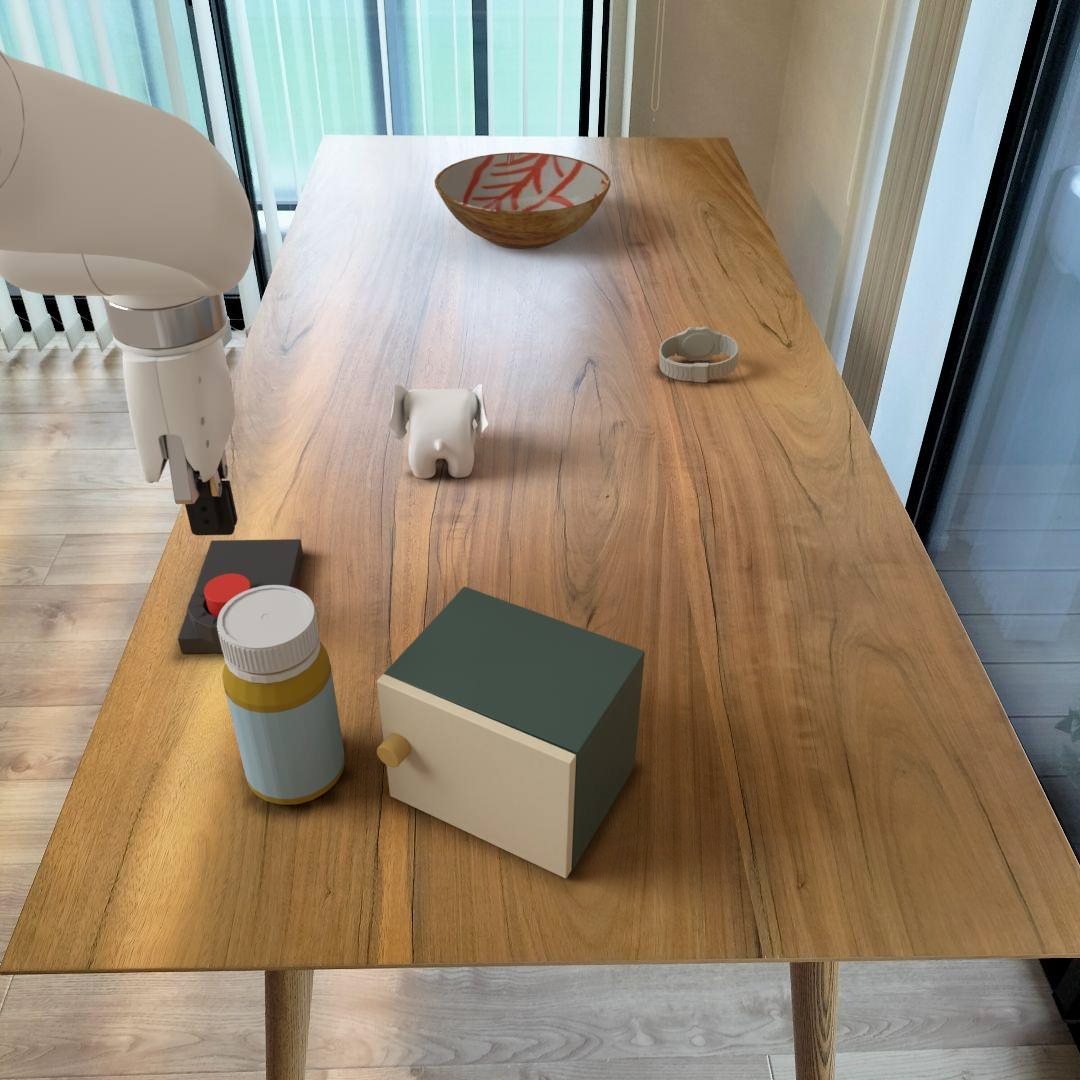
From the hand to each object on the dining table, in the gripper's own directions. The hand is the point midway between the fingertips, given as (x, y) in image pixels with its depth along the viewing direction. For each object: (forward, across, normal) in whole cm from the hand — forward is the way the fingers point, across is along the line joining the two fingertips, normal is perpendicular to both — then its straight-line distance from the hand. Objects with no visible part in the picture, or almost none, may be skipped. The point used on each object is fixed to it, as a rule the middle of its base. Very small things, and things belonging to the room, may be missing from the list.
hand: (215, 528), depth 83 cm
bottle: (+11, +15, +7) cm, 20 cm away
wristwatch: (+11, -44, +45) cm, 64 cm away
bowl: (+12, -86, +26) cm, 90 cm away
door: (+10, +22, +20) cm, 31 cm away
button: (+7, 0, 0) cm, 7 cm away
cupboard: (+10, +17, +23) cm, 30 cm away
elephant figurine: (+11, -26, +16) cm, 32 cm away
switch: (+11, -4, 0) cm, 11 cm away
